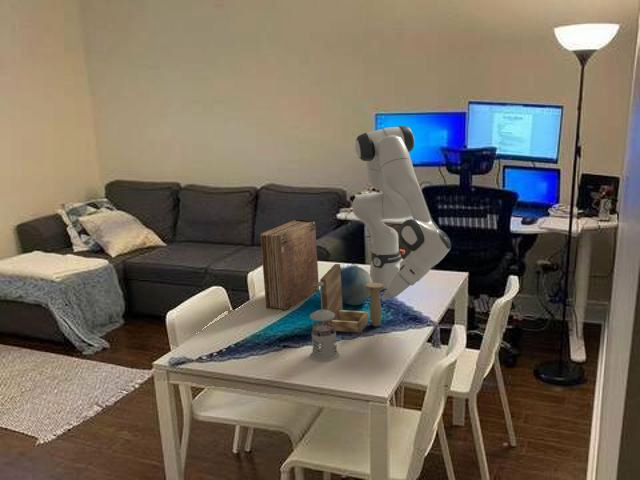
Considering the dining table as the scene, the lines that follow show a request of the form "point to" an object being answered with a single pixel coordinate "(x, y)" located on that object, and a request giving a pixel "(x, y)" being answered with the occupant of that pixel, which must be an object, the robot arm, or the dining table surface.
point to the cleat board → (340, 304)
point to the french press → (323, 336)
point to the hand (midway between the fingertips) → (385, 294)
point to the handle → (375, 302)
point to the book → (289, 264)
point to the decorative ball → (354, 285)
